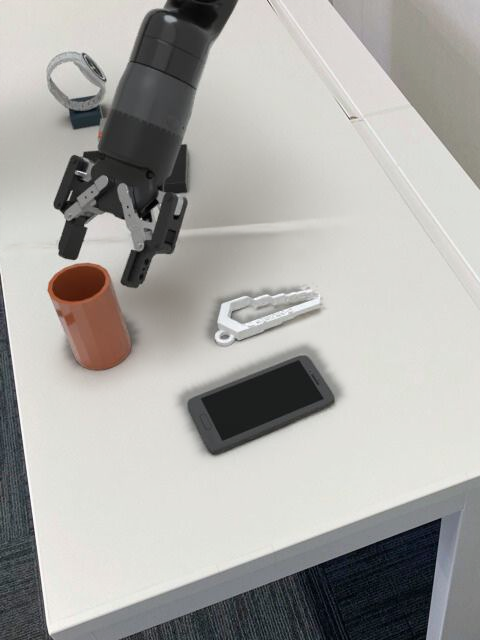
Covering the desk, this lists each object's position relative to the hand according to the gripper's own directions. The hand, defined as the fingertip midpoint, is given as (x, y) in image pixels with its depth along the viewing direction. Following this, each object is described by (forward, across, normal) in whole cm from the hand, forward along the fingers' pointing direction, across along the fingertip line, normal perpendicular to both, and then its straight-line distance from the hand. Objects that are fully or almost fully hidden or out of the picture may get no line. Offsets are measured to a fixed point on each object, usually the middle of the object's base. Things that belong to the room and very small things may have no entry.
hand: (97, 272), depth 79 cm
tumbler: (+8, 0, -5) cm, 10 cm away
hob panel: (-9, +17, -23) cm, 30 cm away
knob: (-10, +18, -20) cm, 29 cm away
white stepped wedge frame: (-1, -12, -15) cm, 19 cm away
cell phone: (+7, -20, -7) cm, 22 cm away
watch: (-14, +33, -28) cm, 46 cm away
